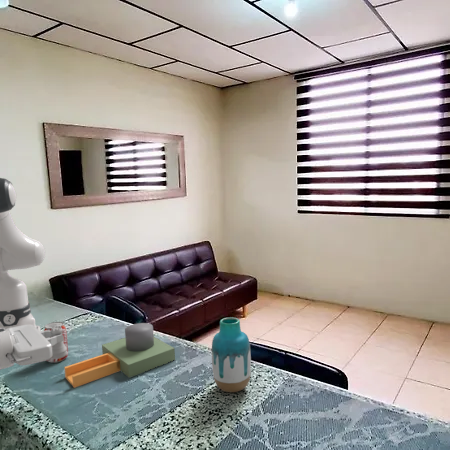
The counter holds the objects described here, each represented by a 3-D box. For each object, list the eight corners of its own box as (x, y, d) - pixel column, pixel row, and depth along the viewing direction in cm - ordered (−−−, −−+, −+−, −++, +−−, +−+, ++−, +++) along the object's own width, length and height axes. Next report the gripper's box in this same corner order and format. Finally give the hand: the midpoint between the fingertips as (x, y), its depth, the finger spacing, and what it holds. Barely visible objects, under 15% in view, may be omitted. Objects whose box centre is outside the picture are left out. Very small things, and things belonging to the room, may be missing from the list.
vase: (224, 403, 95) (221, 331, 93) (206, 384, 104) (203, 318, 102) (259, 391, 100) (256, 322, 98) (239, 374, 109) (237, 311, 107)
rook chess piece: (53, 352, 104) (50, 325, 103) (70, 351, 104) (67, 323, 103) (47, 360, 99) (44, 331, 99) (65, 358, 100) (62, 330, 99)
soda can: (60, 365, 120) (56, 329, 119) (40, 363, 122) (37, 328, 120) (73, 355, 127) (70, 321, 126) (54, 354, 128) (51, 320, 127)
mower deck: (81, 396, 101) (78, 361, 100) (59, 370, 116) (56, 339, 115) (175, 360, 120) (173, 330, 119) (145, 342, 135) (143, 315, 134)
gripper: (9, 351, 85) (72, 334, 94) (-6, 327, 100) (49, 314, 109) (12, 377, 85) (74, 358, 94) (-3, 349, 101) (51, 335, 110)
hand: (60, 334), depth 102 cm, fingers closed on rook chess piece, 3 cm apart
